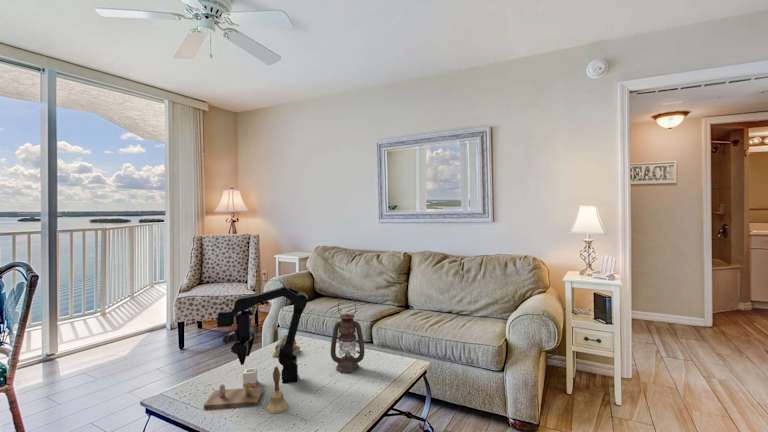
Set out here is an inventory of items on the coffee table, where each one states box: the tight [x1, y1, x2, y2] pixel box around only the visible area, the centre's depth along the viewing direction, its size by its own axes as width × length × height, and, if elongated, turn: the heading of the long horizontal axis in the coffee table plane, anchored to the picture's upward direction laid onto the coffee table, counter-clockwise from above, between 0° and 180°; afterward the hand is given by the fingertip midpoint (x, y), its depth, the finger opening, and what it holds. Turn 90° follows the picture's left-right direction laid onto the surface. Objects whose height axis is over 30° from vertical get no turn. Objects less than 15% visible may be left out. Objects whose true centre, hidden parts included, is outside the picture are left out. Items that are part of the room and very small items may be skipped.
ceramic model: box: [272, 334, 301, 359], centre depth 197 cm, size 14×11×10 cm
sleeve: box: [242, 367, 258, 388], centre depth 162 cm, size 5×5×6 cm
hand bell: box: [265, 366, 289, 415], centre depth 142 cm, size 8×8×16 cm
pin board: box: [203, 383, 265, 410], centre depth 149 cm, size 20×12×6 cm, turn 97°
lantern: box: [330, 295, 365, 374], centre depth 177 cm, size 11×16×35 cm
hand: (245, 360), depth 163 cm, fingers open, 9 cm apart
